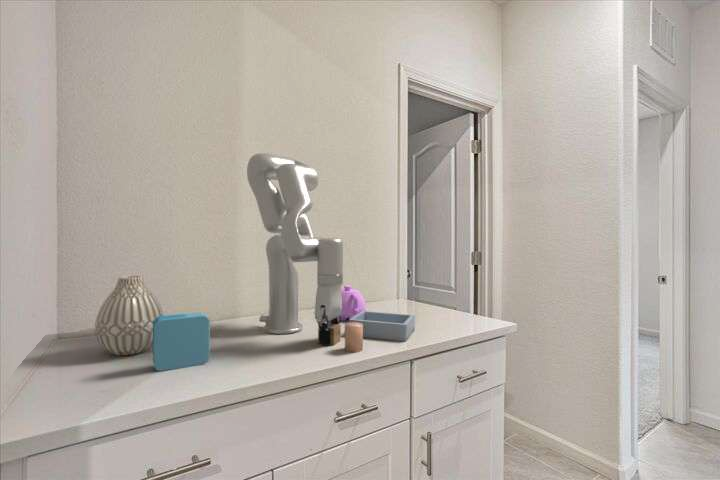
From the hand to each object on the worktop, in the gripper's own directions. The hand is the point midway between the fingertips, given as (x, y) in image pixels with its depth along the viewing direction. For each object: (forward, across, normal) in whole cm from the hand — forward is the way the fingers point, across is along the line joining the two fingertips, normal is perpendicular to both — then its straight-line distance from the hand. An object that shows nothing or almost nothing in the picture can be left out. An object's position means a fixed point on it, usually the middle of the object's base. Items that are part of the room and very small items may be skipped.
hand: (329, 340), depth 111 cm
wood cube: (+1, 0, 0) cm, 1 cm away
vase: (+1, +26, -47) cm, 54 cm away
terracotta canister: (+1, +4, +9) cm, 10 cm away
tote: (+1, -16, +12) cm, 20 cm away
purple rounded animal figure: (+1, -33, -7) cm, 34 cm away
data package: (+1, +30, -26) cm, 40 cm away
